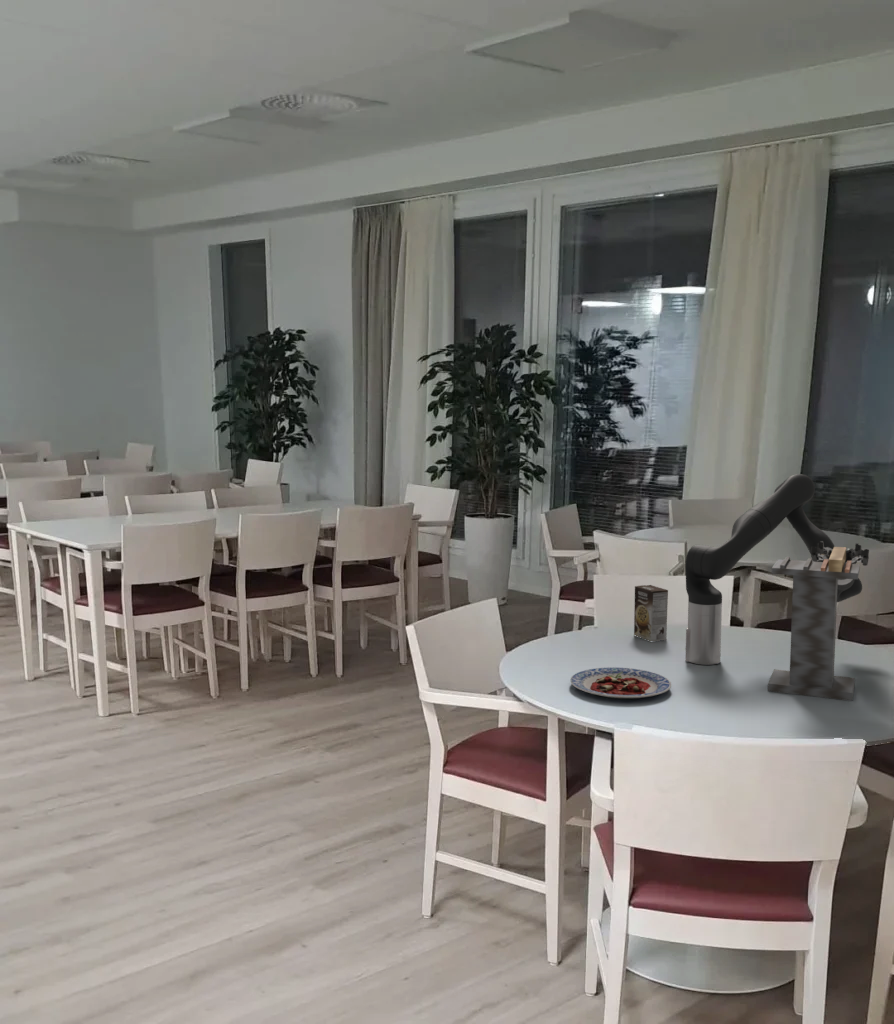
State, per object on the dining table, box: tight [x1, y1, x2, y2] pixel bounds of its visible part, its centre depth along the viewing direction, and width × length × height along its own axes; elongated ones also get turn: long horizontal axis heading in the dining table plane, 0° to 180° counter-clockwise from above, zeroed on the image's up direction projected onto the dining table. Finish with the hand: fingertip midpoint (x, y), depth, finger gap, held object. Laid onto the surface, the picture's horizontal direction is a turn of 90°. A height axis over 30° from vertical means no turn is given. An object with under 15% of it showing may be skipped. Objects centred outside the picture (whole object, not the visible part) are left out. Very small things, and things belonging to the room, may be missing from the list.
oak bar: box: [828, 546, 847, 572], centre depth 244 cm, size 3×22×3 cm, turn 155°
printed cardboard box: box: [633, 584, 669, 642], centre depth 297 cm, size 9×6×16 cm
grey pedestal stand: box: [767, 556, 861, 702], centre depth 244 cm, size 20×14×33 cm
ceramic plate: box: [570, 667, 672, 700], centre depth 247 cm, size 26×26×3 cm
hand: (839, 545), depth 249 cm, fingers open, 8 cm apart
